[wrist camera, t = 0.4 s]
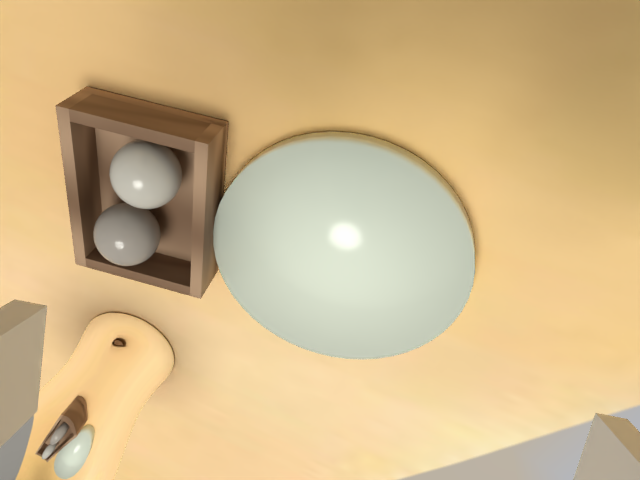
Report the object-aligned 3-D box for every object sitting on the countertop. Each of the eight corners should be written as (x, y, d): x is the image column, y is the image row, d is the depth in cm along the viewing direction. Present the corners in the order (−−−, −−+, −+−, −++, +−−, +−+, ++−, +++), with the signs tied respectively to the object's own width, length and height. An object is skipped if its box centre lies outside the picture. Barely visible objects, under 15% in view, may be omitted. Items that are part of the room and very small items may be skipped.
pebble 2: (112, 184, 29) (77, 216, 26) (171, 199, 28) (141, 234, 26) (115, 234, 30) (83, 269, 28) (171, 249, 30) (143, 285, 28)
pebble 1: (129, 120, 26) (92, 150, 24) (193, 137, 26) (163, 168, 23) (131, 179, 28) (98, 211, 26) (192, 195, 28) (164, 229, 25)
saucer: (229, 101, 25) (220, 111, 24) (515, 171, 24) (517, 185, 23) (215, 308, 33) (207, 322, 32) (431, 368, 32) (430, 385, 31)
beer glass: (74, 295, 35) (-134, 528, 23) (179, 320, 34) (22, 575, 22) (89, 369, 39) (-81, 601, 27) (183, 394, 38) (52, 643, 26)
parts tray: (87, 86, 26) (55, 105, 24) (228, 121, 26) (208, 144, 24) (100, 237, 32) (75, 264, 30) (218, 270, 31) (200, 298, 29)
